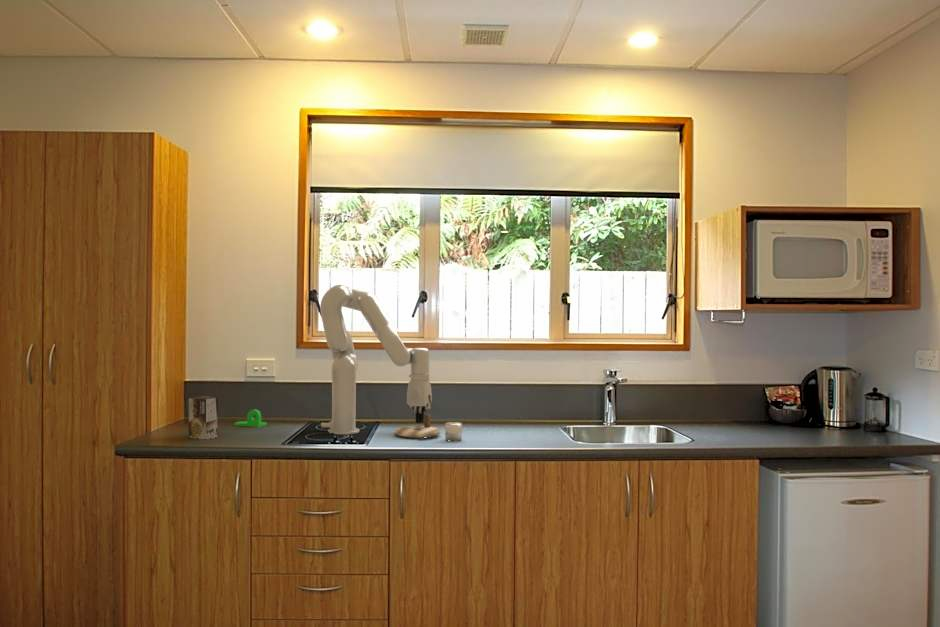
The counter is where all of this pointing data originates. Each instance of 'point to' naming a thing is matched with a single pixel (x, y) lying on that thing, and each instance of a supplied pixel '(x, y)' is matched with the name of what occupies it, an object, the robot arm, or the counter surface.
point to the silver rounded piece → (453, 431)
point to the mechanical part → (252, 419)
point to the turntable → (418, 429)
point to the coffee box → (203, 417)
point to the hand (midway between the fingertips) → (419, 422)
